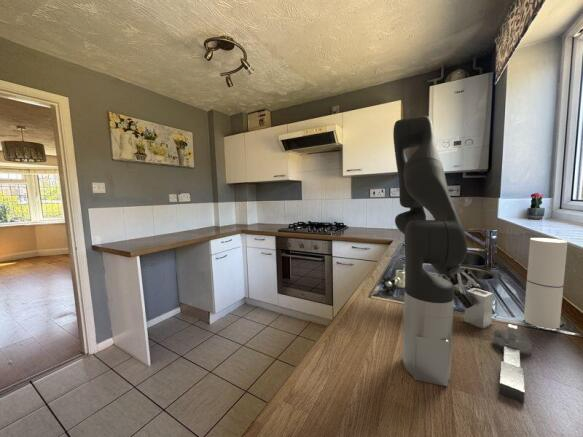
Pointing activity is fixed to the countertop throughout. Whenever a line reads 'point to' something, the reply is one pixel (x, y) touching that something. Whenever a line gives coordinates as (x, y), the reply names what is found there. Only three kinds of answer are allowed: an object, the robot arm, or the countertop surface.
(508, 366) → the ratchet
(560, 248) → the cylindrical container
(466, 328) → the countertop surface
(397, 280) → the valve
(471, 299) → the socket
